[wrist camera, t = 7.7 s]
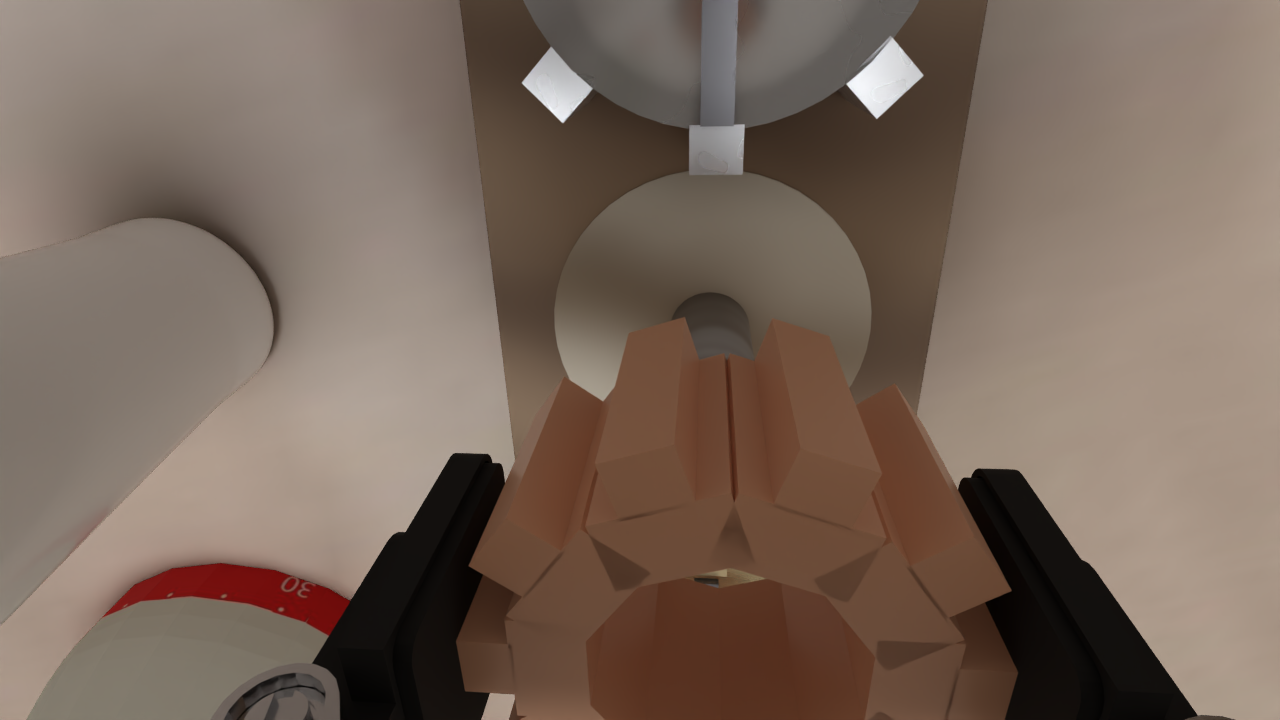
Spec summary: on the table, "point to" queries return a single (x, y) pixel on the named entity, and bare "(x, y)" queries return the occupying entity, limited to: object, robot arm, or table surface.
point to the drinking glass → (110, 375)
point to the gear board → (715, 217)
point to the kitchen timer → (189, 644)
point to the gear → (720, 62)
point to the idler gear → (734, 551)
